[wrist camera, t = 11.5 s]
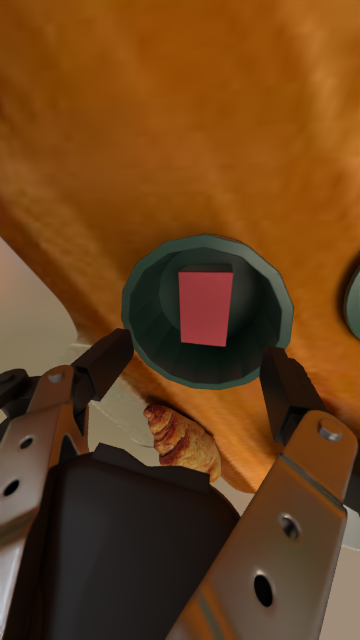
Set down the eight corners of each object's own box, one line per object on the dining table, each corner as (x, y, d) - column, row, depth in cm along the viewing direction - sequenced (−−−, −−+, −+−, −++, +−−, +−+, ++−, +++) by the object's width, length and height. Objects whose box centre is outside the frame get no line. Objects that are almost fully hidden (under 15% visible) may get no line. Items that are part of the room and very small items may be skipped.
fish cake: (187, 264, 18) (178, 271, 14) (231, 264, 17) (233, 272, 13) (188, 324, 21) (180, 342, 17) (225, 327, 20) (225, 347, 16)
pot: (197, 205, 16) (176, 185, 9) (296, 289, 17) (341, 324, 10) (138, 302, 22) (100, 331, 15) (213, 358, 23) (208, 408, 16)
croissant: (230, 445, 36) (252, 489, 28) (193, 475, 36) (204, 528, 28) (167, 377, 30) (173, 407, 23) (123, 412, 30) (114, 455, 23)
